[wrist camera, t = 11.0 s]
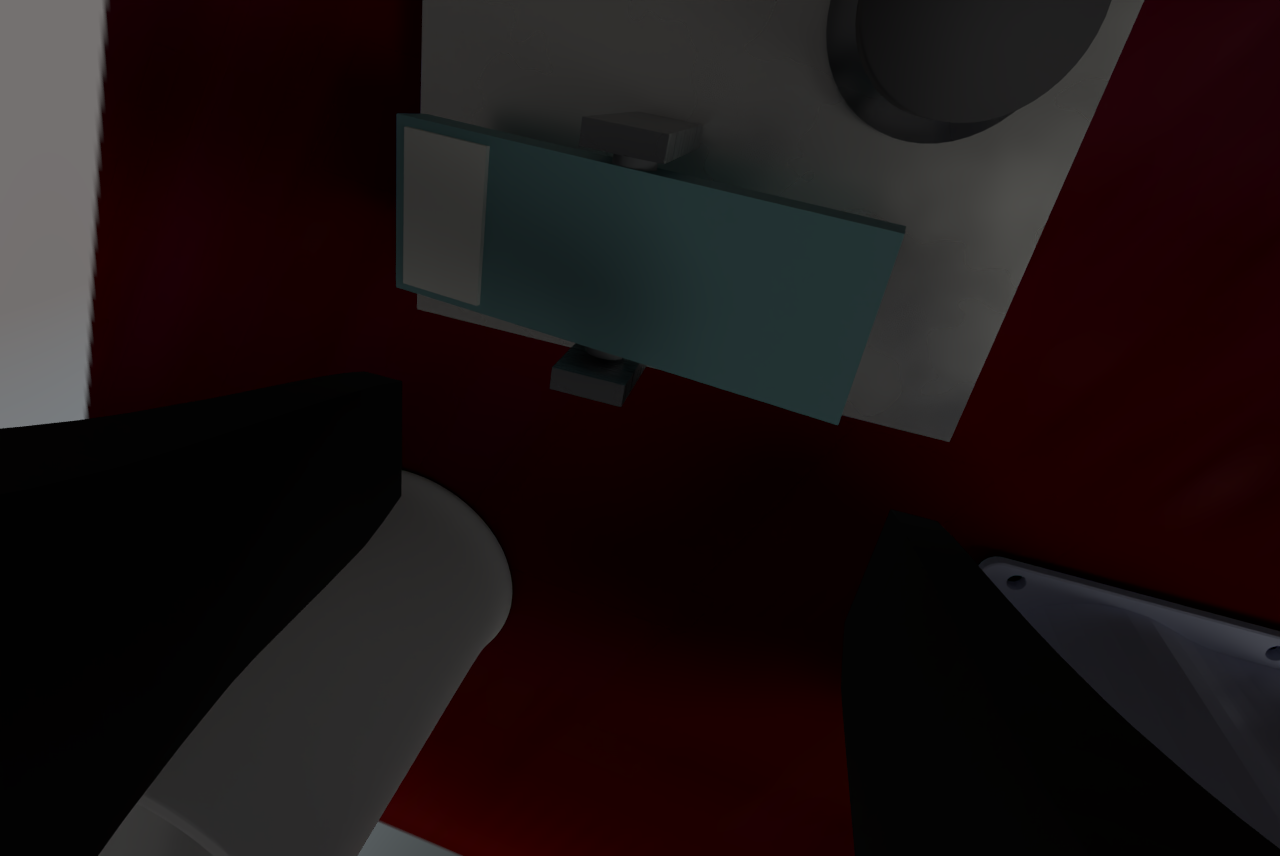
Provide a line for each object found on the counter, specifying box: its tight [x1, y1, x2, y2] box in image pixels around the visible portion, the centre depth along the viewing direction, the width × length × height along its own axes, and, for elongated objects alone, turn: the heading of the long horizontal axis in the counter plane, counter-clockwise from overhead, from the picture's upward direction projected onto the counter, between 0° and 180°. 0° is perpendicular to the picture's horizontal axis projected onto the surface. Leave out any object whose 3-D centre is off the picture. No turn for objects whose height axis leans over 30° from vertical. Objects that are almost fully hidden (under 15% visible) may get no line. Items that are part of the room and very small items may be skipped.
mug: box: [98, 470, 512, 856], centre depth 21 cm, size 12×8×12 cm
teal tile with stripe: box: [396, 114, 906, 425], centre depth 14 cm, size 11×4×1 cm, turn 80°
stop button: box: [855, 0, 1112, 123], centre depth 11 cm, size 4×4×2 cm
